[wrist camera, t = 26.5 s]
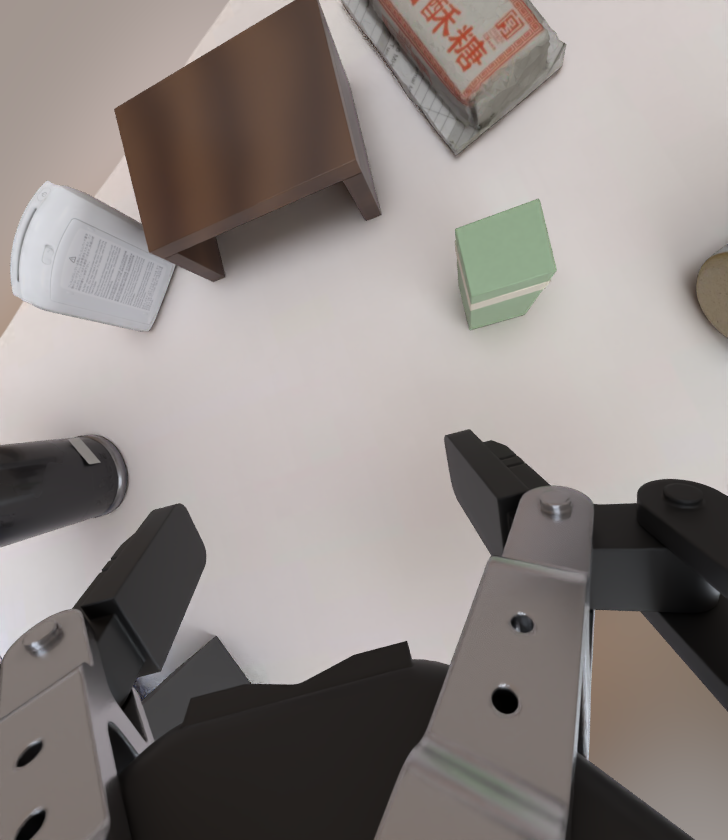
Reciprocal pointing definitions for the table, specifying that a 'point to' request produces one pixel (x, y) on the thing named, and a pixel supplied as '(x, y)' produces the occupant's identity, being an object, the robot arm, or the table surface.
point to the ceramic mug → (715, 290)
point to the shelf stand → (243, 137)
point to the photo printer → (86, 261)
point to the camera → (191, 686)
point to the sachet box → (503, 264)
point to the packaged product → (462, 57)
